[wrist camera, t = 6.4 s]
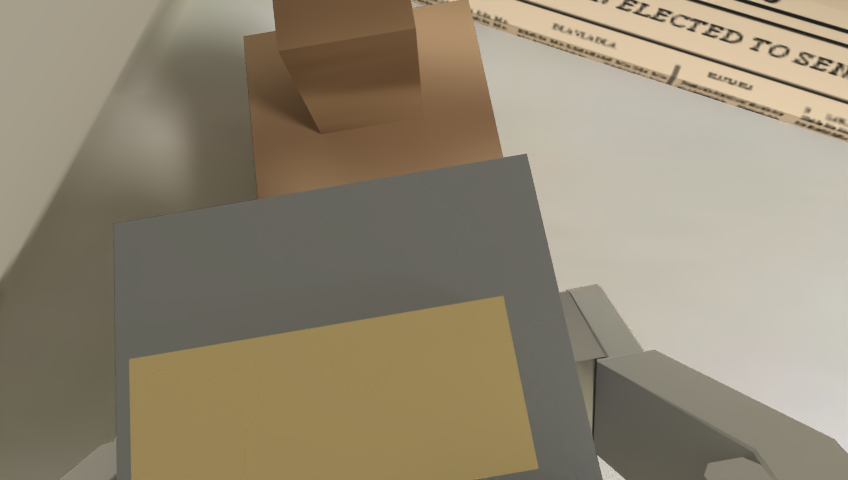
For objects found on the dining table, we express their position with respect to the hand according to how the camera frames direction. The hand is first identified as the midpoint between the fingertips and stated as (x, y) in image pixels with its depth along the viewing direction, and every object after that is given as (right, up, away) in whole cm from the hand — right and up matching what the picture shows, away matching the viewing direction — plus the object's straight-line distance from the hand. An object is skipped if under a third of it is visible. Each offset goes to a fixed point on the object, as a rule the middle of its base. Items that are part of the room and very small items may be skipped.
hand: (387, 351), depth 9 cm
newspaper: (+9, +12, +14) cm, 21 cm away
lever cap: (0, -2, +5) cm, 5 cm away
